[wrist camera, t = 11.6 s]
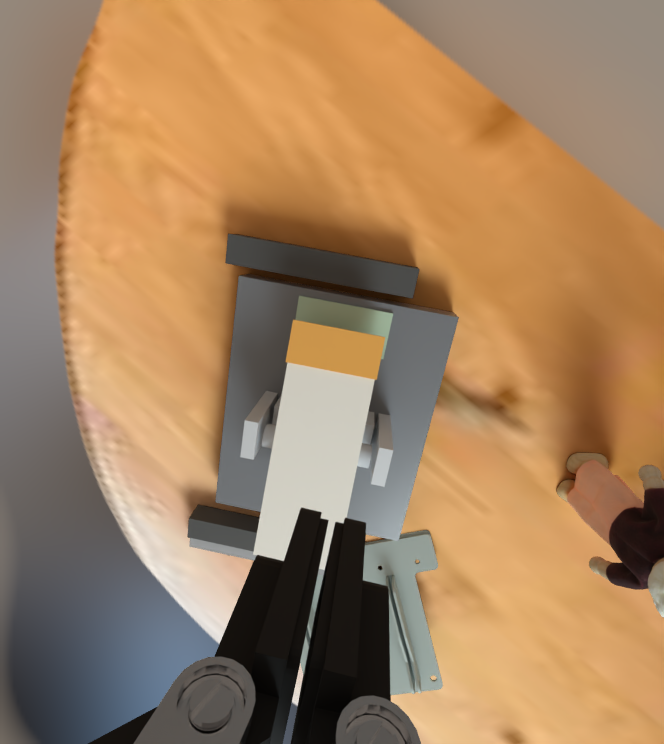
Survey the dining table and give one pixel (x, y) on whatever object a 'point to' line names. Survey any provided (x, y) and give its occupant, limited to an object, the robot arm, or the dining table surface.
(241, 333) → the panel
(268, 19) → the dining table surface
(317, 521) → the robot arm
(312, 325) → the rocker lever
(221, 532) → the pair of grey rails
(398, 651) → the metal bracket
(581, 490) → the grandmother figurine
